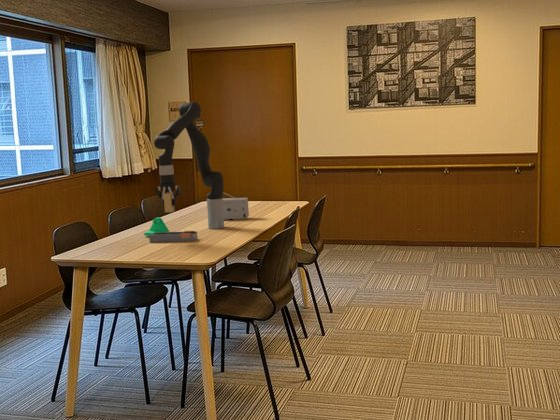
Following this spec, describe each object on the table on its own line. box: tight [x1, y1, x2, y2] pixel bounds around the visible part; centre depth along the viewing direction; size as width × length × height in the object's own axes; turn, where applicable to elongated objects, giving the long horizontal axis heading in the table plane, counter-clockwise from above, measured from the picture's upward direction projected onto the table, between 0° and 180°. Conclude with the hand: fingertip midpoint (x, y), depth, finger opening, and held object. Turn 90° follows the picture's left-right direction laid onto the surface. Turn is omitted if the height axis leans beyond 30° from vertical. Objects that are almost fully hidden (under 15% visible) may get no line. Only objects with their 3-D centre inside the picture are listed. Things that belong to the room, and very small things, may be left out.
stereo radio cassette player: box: [223, 191, 250, 221], centre depth 424 cm, size 21×8×20 cm, turn 84°
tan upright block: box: [163, 192, 176, 213], centre depth 357 cm, size 4×4×11 cm
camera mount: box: [143, 216, 170, 237], centre depth 376 cm, size 12×8×10 cm, turn 69°
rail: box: [148, 230, 198, 243], centre depth 359 cm, size 8×24×4 cm, turn 81°
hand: (169, 205), depth 357 cm, fingers closed on tan upright block, 4 cm apart
